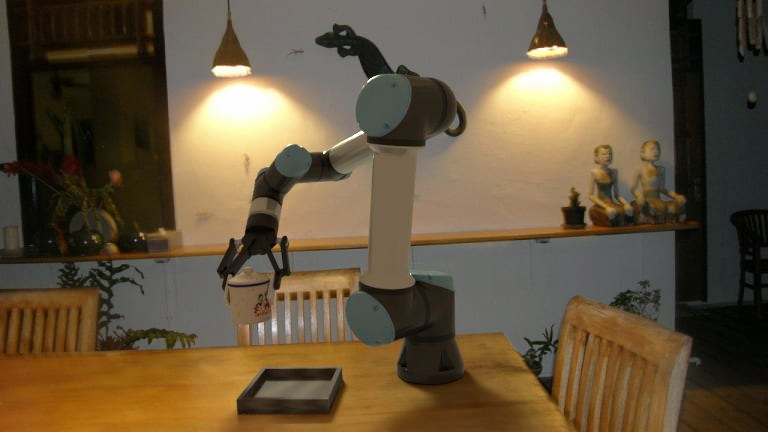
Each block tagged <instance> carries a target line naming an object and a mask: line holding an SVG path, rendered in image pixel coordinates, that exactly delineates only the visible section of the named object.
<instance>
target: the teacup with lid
mask: <svg viewBox="0 0 768 432" xmlns="http://www.w3.org/2000/svg"><path fill="white" fill-rule="evenodd" d="M242 270H243V271H242V272H240V273H237V274H236V275H235V276H234V277H233V278H232V279H230V280H229V281H228V286H229V293H230V306H229V307H230V313H231V314H230V315H231V316H230V317H231V322H232V323H233V324H235V325H241V326H246V325H247V326H248V325H257V324H261V323H265V322H268V321H270V320H271V319H272V317H273V313H272V305H270V304H269V302H268V300H267V294H268V288H269V282H270V277H269V276H268V275H266V274H262V273H259V271H255V270H254V268H253V267H252V266H245V267H243V269H242Z"/></svg>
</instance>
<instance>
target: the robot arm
mask: <svg viewBox="0 0 768 432" xmlns="http://www.w3.org/2000/svg"><path fill="white" fill-rule="evenodd" d="M354 111H355V114H354V115H355V119H356V120H355V121H356V123H357V124H359V125H358V128H359V129H360V130H361V131H359V132H357V133H355V134H354V135H351V136H350V137H348V138H347V139H345V140H343V141H341V142H339V143H338V144H336V145H334V146H332V147H330V148H329V149H327V150H325V151H308V150H307V148H306V147H304V146H301V145H299V144H297V143H289V144H287V145H286V146H285V147H283V149H282V150H281V151H280V152H279V153H278V154H277V155H276V157H275V158H274V159H273V160H272V162H271V163H270V165H269V166H266V167H263V168H260V169H259V171H258V172H257V175H256V178H255V180H254V187H253V191H252V196H251V202H250V207H249V210H248V215H247V220H246V225H245V229H244V230H245V231H244V235H243V236H242V237H241V238H240V239H235V238H234V237H231V238H229V243H228V246H227V249H226V251H225V253H224V255H223V257H222V258H221V261H220V262H219V265H218V267H217V269H216V273H217V275H218V277H219V279H222V284H221V289H222V290H223V297H222V302H223V303H224V305H225V306H226V307H231V306H230V293H229V286H228V281H229V280H230V279H232V278H234V277H236V276H237V275H238V272H239V271H240V270H241V268H243V265H245V264H246V262H247V261H248V260H250V259H252V258H251V257H252V256H253V257H254V256H258V255H260V256H265V255H267V258H268V260H269V262H270V264H271V266H272V269H273V272H270V277H269V278H270V282H269V288H268V294H267V300H268V302H269V304H270V305H271V306H272V305H273V306H274V301H275V297H276V291H279V290H280V289H281V284H282V278H283V277H289V276H291V273H292V272H291V266H290V258H289V256H290V255H289V251H288V250H289V248H290V247H289V246H290V241H289V239H288V236H287V235H283V236H282V237H278V233H279V227H280V226H279V225H280V219H281V215H282V214H281V213H282V210H283V203H284V199H285V197H286V195H287V194H288V193H289V192H290V191H292V188H294V187H295V185H297V184H309V183H311V184H312V183H323V182H325V183H327V182H339V181H344V180H347V179H349V178H351V175H352V174H353V172H354V171H356V170H357V169H359V168H361V167H364V166H367V165H369V164H371V163H372V171H371V172H372V173H371V174H372V175H371V188H370V205H369V206H370V207H369V208H370V209H369V224H368V240H367V241H368V243H367V259H366V268H365V270H364V271H363V272H361V274H360V275H359V276H358V284H357V291H354V292H352V293H351V294H350V295H349V297H347V299H346V302H345V305H344V306H345V307H344V311H345V312H344V313H345V318H346V322H347V325H348V326H349V329H350V330H351V332H352V334H353V336H354V337H356V339H358V341H360V342H361V343H362V344H364V345H366V346H369V347H375V348H376V347H378V346H379V347H380V346H383V345H385V346H386V345H389V344H392V343H393V342H395V341H398V340H402V339H403V340H402V343H401V347H400V351H399V354H398V358H397V361H396V375H397V376H398V377H399V378H400V379H402V380H403V381H406V382H408V383H412V384H418V385H419V384H420V385H440V384H447V383H450V382H451V383H452V382H455V381H458V380H459V379H461V378H462V377H463V376H464V374H465V360H464V359H463V356H462V353H461V350H460V347H459V345H458V344H459V343H458V342H457V338H456V337H457V336H456V294H455V293H456V289H455V282H454V281H455V280H454V277H453V276H452V275H451V274H450V273H447V272H443V271H437V270H423V269H422V270H421V269H420V270H419V269H418V270H417V269H410V260H411V257H410V256H411V244H412V243H411V241H412V228H413V214H414V204H415V203H414V202H415V189H416V188H415V187H416V171H417V160H418V155H419V153H421V152H422V151H423V150H424V149H425V148H426V143H427V141H428V140H430V139H432V138H434V137H436V136H439V135H441V134H443V133H444V132H445V131H447V130H448V129H449V128H450V127H451V126H452V125H453V123H454V121H455V119H456V117H457V113H458V112H457V111H458V102H457V98H456V95H455V93H454V91H453V90H452V89H451V87H450V86H449V85H448V84H447V83H446V82H444V81H443V80H441V79H439V78H436V77H428V76H416V75H410V74H409V75H408V74H401V73H382V74H378V75H374V76H372V77H371V78H370V79H369V80H367V82H366V84H364V85H363V86H362V88H361V89H360V91H359V94H358V95H357V98H356V102H355V109H354ZM277 244H278V247H280V254H281V263H282V268H280V267H279V264H278V261H277V259H276V258H275V256H274V254H273V252H272V250H273V249H274V247H276V246H277ZM241 246H242V247H241ZM240 247H241V249H240ZM239 250H240V251H239ZM238 251H239V253H238ZM237 253H238V254H237ZM236 255H237V256H236Z"/></svg>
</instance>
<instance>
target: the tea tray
mask: <svg viewBox="0 0 768 432" xmlns="http://www.w3.org/2000/svg"><path fill="white" fill-rule="evenodd" d="M343 379H344V377H343V366H263V367H261V368H260V369H259V371H258V372H257V373H256V374H255V376H254V377H253V378H252V380H250V382H249V383H248V384H247V386H246V387H245V388H244V390H243V391H242V392H241V393H240V394H239V396H238V397H237V398H236V412H237V413H236V414H237V415H330V412H331V409H332V408H333V405H334V402H335V400H336V397H337V396H338V393H339V391H340V390H339V389H340V388H341V385H342V383H343V381H344V380H343Z"/></svg>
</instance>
